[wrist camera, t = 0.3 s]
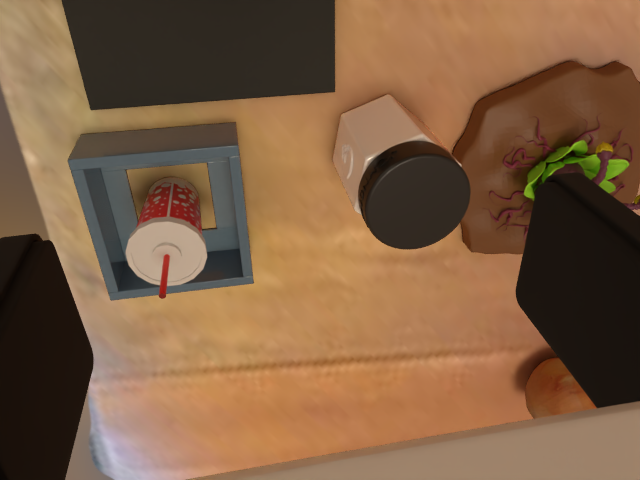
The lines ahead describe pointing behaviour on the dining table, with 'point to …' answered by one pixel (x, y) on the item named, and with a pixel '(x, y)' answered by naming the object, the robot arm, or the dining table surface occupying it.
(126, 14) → the mat
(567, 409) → the onion
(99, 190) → the blue-grey open box
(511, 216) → the plant
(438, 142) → the jar
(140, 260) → the beverage cup
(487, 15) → the dining table surface
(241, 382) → the dining table surface
